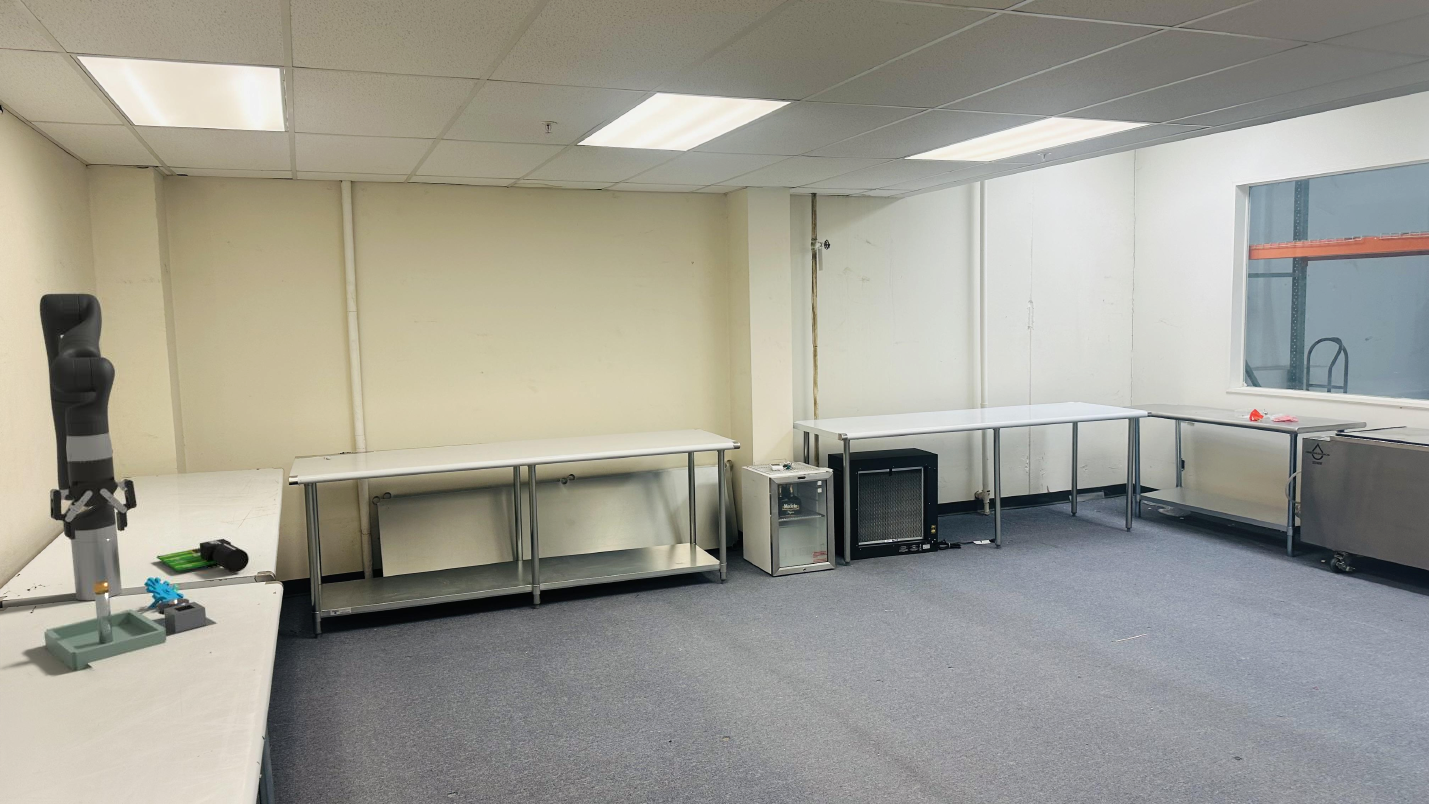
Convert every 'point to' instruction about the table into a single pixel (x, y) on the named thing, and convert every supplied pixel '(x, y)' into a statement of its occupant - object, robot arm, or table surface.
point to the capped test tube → (103, 612)
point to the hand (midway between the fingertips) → (96, 534)
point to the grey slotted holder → (182, 616)
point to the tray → (82, 639)
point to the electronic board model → (209, 557)
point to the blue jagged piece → (161, 591)
